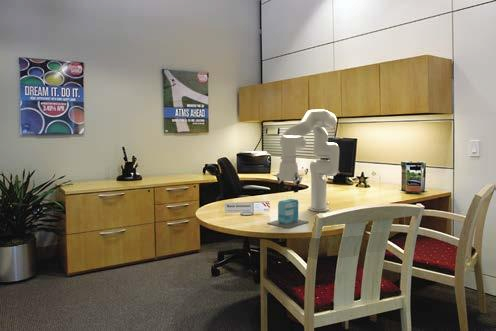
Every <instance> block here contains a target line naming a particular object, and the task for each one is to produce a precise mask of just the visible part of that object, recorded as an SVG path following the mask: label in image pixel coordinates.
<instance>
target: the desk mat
mask: <svg viewBox="0 0 496 331" xmlns="http://www.w3.org/2000/svg"><path fill="white" fill-rule="evenodd" d="M304 224H305V225H306V224H309V220H308V221H307V220H304V219H299V218H298V220H297V221H296V222H292V223H288V224H282V223H279V222H278V219H277V220H274V221H269V222H267V225H271V226H275V227H280V228H284V229H291V228H295V227H298V226H302V225H304Z"/></svg>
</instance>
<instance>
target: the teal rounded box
mask: <svg viewBox="0 0 496 331" xmlns="http://www.w3.org/2000/svg"><path fill="white" fill-rule="evenodd" d="M277 203H278V204H277V220H278V222H279V223H282V224H288V223H292V222H296V221H297V220H298V219H299V200H298V199H294V198H288V199H284V200H283V199H282V200H280V201H279V202H277Z"/></svg>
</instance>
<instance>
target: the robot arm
mask: <svg viewBox="0 0 496 331" xmlns="http://www.w3.org/2000/svg"><path fill="white" fill-rule="evenodd" d="M336 124H337V117H336V115H335V114H334V113H333V112H330V111H328V110H326V109H309V110H307V111H306V112H305V114H304V115H303V116H302V118H301V120H300V121H299V122H298V123H296V124H294V125H293V126H291V127H288V129H286V130H285V131H284V132H283V134H282V135H281V137H280V140H279V144H280V147H281V157H280V160H281V161H280V163H279V170H278V173H276V174H275V175H276V178H277V181H278V184H279V191H285V182H292V183H293V193H294V194H295V193H299V185H300V184H301V183H302V181H303V176H301V175H300V174H299V169H298V163H297V150H302V149H304V148H305V147H306V145H307V139H306V138H305V137H304V136H307V135H309V134H311V132H313V137H314V138H313V156H314V157H316V158H321V159H314V160H312V161H310V164H309V170H310V171H309V172H310V176H311V177H310V180H311V181H310V182H311V184H310V187H311V188H310V206H308V210H309V211H312V212H326V211H329V207H328V206H329V205H330V202H329V201H327V188H328V187H327V185H328V184H327V180H326V177H325V176H327V177H328V176H330V177H331V176H333V177H335V176H336V175H337V174H338V172H339V165H340V164H339V162H340V147H339V145H338V144H337V143H336V142H329V135H328V134H329V133H328V132H327V130H326V129H328V128H330V129H332V128H334V127H336ZM322 158H324V159H322ZM327 159H328V160H327Z"/></svg>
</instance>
